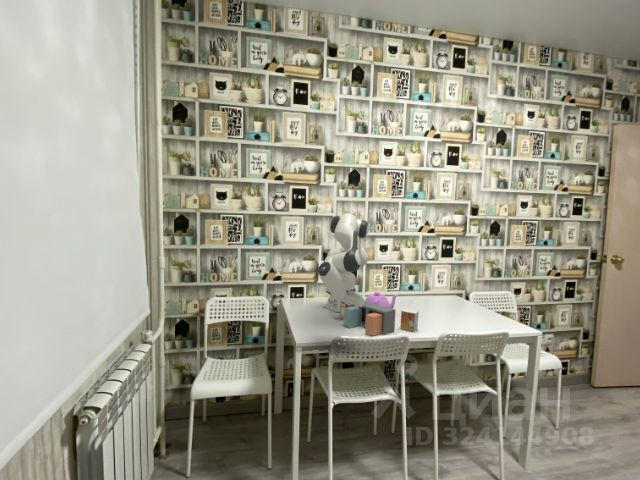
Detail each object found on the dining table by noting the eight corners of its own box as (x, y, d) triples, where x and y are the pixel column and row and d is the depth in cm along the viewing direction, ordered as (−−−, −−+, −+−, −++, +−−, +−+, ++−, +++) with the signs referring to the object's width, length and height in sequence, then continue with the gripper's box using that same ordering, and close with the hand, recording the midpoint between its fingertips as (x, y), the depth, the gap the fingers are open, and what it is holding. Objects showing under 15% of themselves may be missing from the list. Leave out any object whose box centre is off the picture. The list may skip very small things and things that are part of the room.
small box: (400, 329, 223) (401, 310, 222) (403, 327, 228) (404, 308, 227) (414, 332, 219) (415, 313, 218) (417, 329, 223) (418, 311, 222)
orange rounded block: (372, 335, 210) (373, 316, 209) (365, 333, 214) (366, 314, 213) (383, 332, 216) (384, 314, 215) (376, 330, 220) (377, 311, 219)
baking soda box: (340, 316, 244) (341, 290, 242) (350, 316, 245) (351, 290, 244) (345, 321, 234) (346, 294, 233) (355, 321, 236) (357, 293, 234)
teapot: (397, 321, 238) (398, 298, 237) (360, 317, 243) (361, 295, 241) (398, 311, 260) (399, 290, 259) (364, 308, 264) (364, 287, 263)
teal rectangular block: (350, 327, 222) (350, 310, 221) (343, 325, 226) (344, 307, 225) (361, 324, 228) (362, 307, 227) (354, 322, 231) (355, 305, 230)
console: (384, 334, 213) (385, 312, 212) (349, 323, 232) (350, 302, 230) (394, 331, 219) (395, 309, 218) (360, 320, 237) (361, 299, 236)
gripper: (359, 287, 188) (372, 305, 195) (329, 280, 203) (342, 297, 211) (352, 298, 185) (366, 316, 193) (322, 290, 201) (336, 306, 208)
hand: (353, 306), depth 202 cm, fingers open, 4 cm apart
